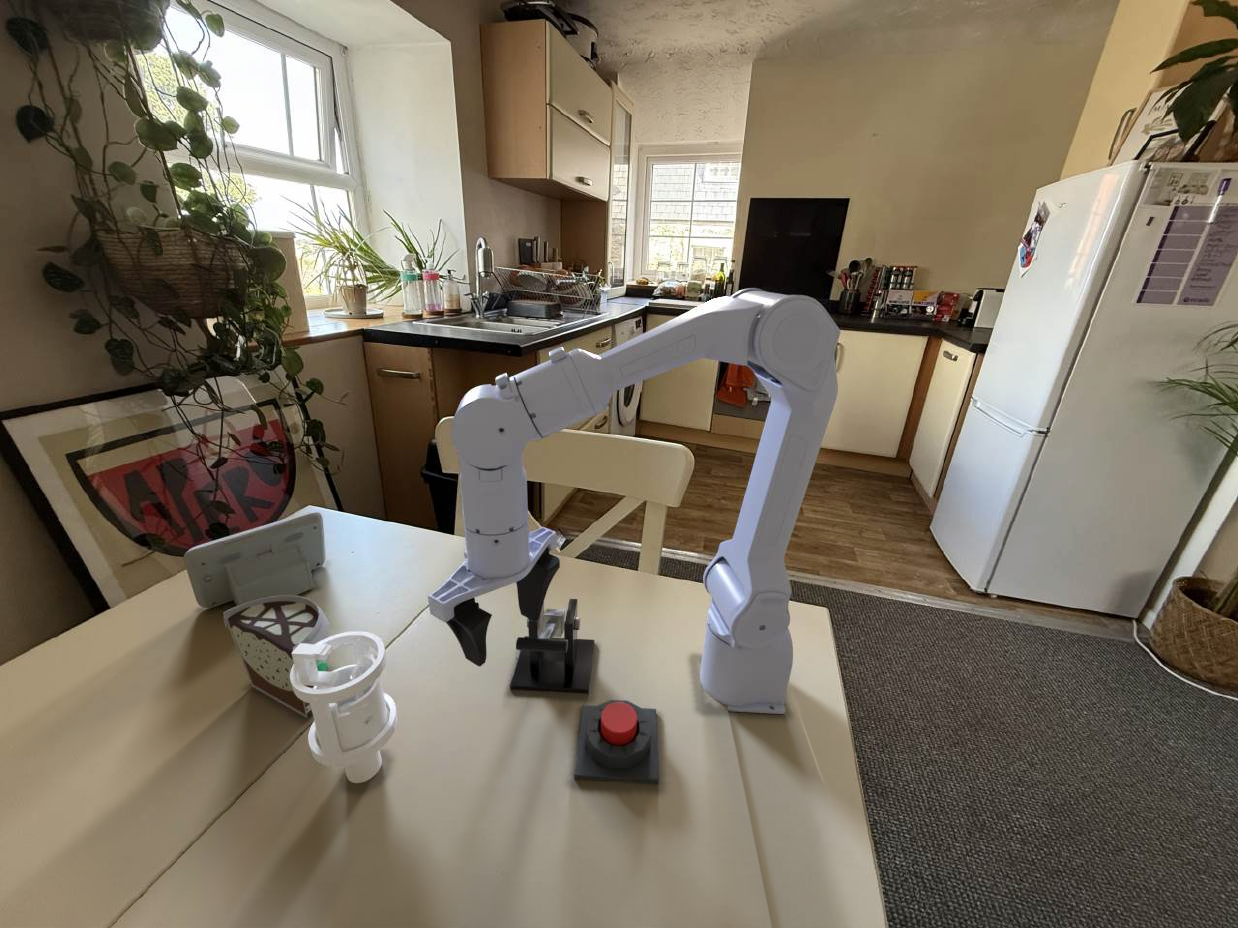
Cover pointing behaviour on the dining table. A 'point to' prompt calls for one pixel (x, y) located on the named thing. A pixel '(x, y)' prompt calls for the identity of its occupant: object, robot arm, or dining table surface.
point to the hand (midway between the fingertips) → (504, 637)
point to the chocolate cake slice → (276, 642)
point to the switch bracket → (556, 660)
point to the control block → (617, 749)
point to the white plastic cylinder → (346, 704)
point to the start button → (618, 723)
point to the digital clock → (258, 562)
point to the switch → (547, 634)
